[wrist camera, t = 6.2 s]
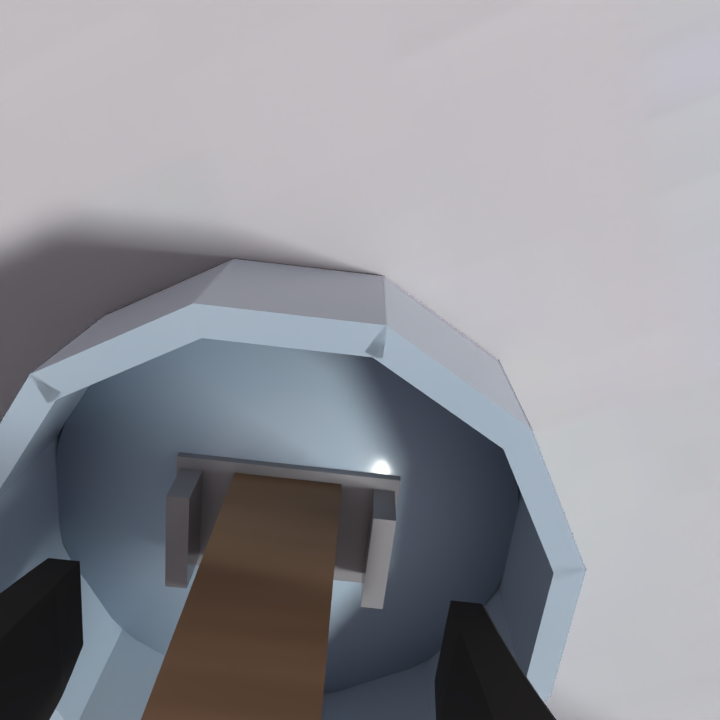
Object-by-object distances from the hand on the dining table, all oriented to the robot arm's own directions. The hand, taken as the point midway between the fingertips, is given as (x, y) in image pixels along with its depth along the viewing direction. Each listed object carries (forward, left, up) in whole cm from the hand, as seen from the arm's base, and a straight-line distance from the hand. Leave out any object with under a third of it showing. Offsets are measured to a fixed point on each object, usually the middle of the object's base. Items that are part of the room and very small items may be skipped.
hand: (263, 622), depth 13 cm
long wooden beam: (0, 0, -3) cm, 3 cm away
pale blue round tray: (0, 0, -4) cm, 4 cm away
